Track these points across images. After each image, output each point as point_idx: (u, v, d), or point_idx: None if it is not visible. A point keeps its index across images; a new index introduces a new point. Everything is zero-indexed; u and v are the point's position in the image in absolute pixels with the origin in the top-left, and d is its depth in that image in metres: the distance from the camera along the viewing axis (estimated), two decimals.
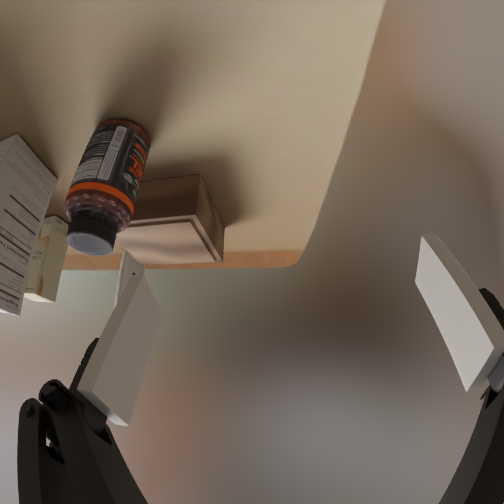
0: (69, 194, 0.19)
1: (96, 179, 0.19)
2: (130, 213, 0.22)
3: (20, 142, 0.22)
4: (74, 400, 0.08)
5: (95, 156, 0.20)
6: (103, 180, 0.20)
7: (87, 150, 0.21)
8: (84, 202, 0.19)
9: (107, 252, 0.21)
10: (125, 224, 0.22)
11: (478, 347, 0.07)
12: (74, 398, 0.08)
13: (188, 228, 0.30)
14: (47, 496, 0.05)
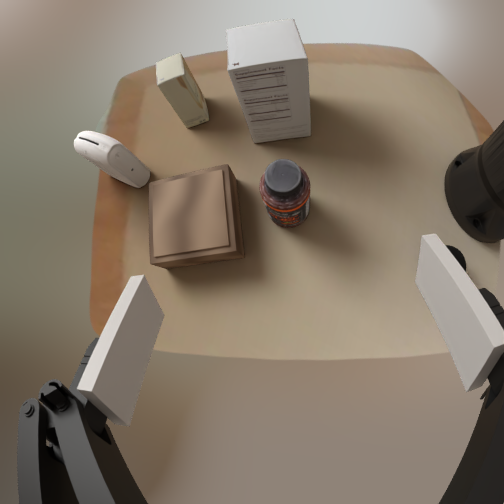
0: (305, 173, 0.34)
1: (309, 195, 0.34)
2: (281, 209, 0.33)
3: (305, 135, 0.43)
4: (74, 400, 0.08)
5: None
6: (307, 199, 0.34)
7: None
8: (306, 184, 0.33)
9: (271, 185, 0.31)
10: (275, 203, 0.33)
11: (478, 347, 0.07)
12: (74, 398, 0.08)
13: (218, 241, 0.37)
14: (47, 496, 0.05)
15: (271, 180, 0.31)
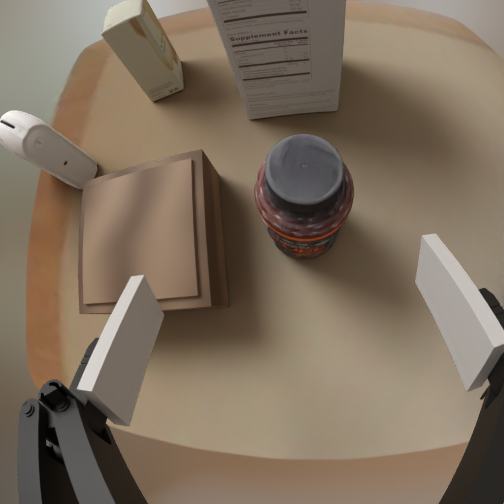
0: None
1: None
2: (298, 237, 0.17)
3: (329, 108, 0.26)
4: (74, 400, 0.08)
5: None
6: (346, 217, 0.17)
7: None
8: (348, 188, 0.16)
9: (280, 188, 0.14)
10: (287, 225, 0.16)
11: (478, 347, 0.07)
12: (74, 398, 0.08)
13: (180, 288, 0.20)
14: (47, 496, 0.05)
15: (279, 177, 0.14)
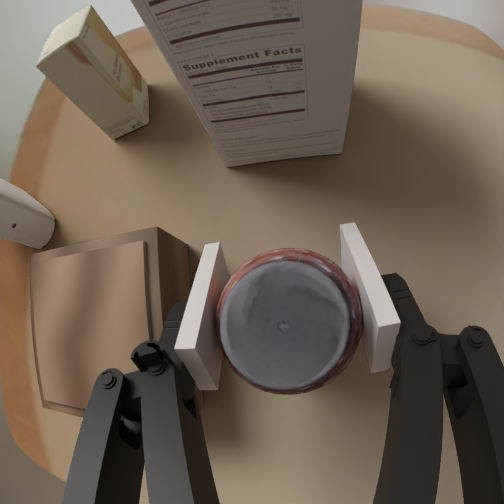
0: None
1: None
2: None
3: (331, 151, 0.21)
4: (172, 367, 0.09)
5: None
6: None
7: None
8: (355, 329, 0.10)
9: (243, 363, 0.09)
10: None
11: (371, 327, 0.09)
12: (172, 364, 0.09)
13: None
14: (104, 482, 0.06)
15: (242, 346, 0.09)
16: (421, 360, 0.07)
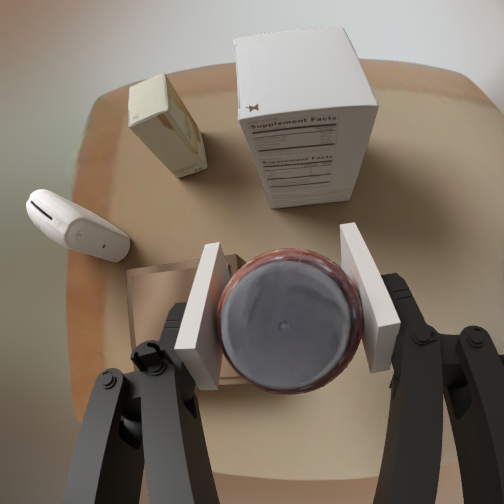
0: None
1: None
2: None
3: (342, 199, 0.31)
4: (172, 367, 0.09)
5: None
6: None
7: None
8: (355, 329, 0.10)
9: (244, 363, 0.09)
10: None
11: (371, 327, 0.09)
12: (172, 364, 0.09)
13: (225, 371, 0.26)
14: (104, 482, 0.06)
15: (244, 346, 0.09)
16: (421, 360, 0.07)
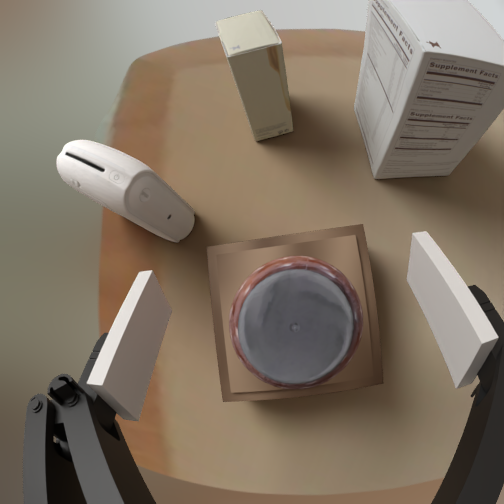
0: None
1: None
2: None
3: (444, 174, 0.25)
4: (84, 395, 0.08)
5: None
6: None
7: None
8: (356, 330, 0.11)
9: (259, 361, 0.10)
10: (270, 380, 0.12)
11: (467, 343, 0.08)
12: (84, 393, 0.08)
13: (356, 371, 0.19)
14: (53, 494, 0.05)
15: (259, 345, 0.10)
16: None
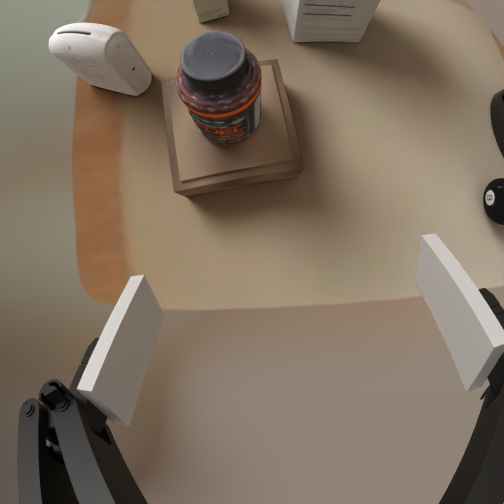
0: None
1: (260, 90, 0.19)
2: (212, 113, 0.18)
3: (354, 40, 0.29)
4: (74, 400, 0.08)
5: None
6: (257, 97, 0.19)
7: None
8: (255, 71, 0.17)
9: (191, 70, 0.15)
10: (201, 103, 0.17)
11: (478, 347, 0.07)
12: (74, 398, 0.08)
13: (278, 156, 0.26)
14: (47, 496, 0.05)
15: (191, 63, 0.15)
16: None
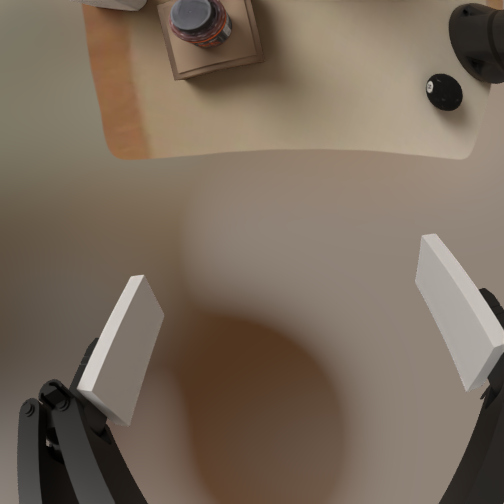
0: None
1: (225, 22, 0.24)
2: (194, 41, 0.24)
3: None
4: (74, 400, 0.08)
5: (228, 19, 0.25)
6: (223, 27, 0.24)
7: None
8: (220, 14, 0.22)
9: (178, 24, 0.21)
10: (187, 37, 0.23)
11: (478, 347, 0.07)
12: (74, 398, 0.08)
13: (246, 52, 0.31)
14: (47, 496, 0.05)
15: (177, 19, 0.20)
16: None
